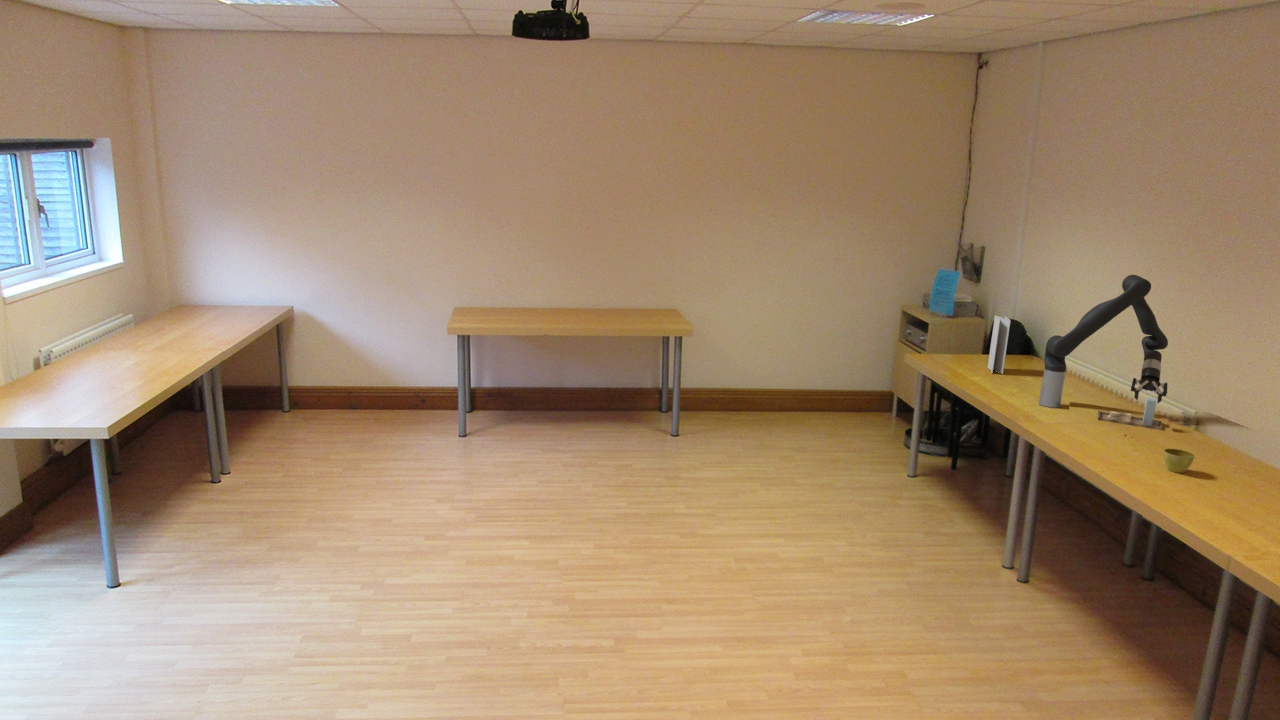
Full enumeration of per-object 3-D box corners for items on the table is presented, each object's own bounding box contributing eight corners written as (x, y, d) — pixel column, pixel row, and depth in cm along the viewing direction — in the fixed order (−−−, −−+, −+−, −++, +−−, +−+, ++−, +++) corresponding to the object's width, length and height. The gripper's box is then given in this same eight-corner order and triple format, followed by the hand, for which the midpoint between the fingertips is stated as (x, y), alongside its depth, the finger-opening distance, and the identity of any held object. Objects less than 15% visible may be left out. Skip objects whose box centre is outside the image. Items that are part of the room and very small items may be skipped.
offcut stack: (1106, 420, 390) (1108, 412, 389) (1106, 419, 393) (1108, 410, 392) (1129, 424, 386) (1131, 415, 385) (1129, 422, 389) (1131, 413, 388)
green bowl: (1154, 465, 336) (1158, 448, 335) (1179, 466, 337) (1182, 448, 336) (1172, 475, 327) (1175, 456, 325) (1197, 475, 328) (1201, 457, 326)
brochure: (1002, 374, 476) (1010, 320, 469) (992, 374, 477) (999, 319, 470) (997, 369, 489) (1005, 316, 483) (987, 368, 490) (994, 315, 484)
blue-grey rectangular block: (1143, 424, 387) (1147, 400, 385) (1142, 421, 392) (1146, 397, 389) (1151, 425, 386) (1156, 401, 383) (1151, 422, 390) (1155, 399, 388)
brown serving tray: (1097, 423, 391) (1098, 417, 390) (1097, 416, 402) (1098, 411, 402) (1161, 433, 380) (1163, 427, 380) (1160, 426, 392) (1161, 420, 391)
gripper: (1134, 364, 405) (1131, 393, 398) (1170, 369, 399) (1167, 399, 392) (1132, 373, 411) (1128, 402, 404) (1167, 378, 405) (1164, 407, 397)
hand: (1147, 400), depth 398 cm, fingers open, 8 cm apart
